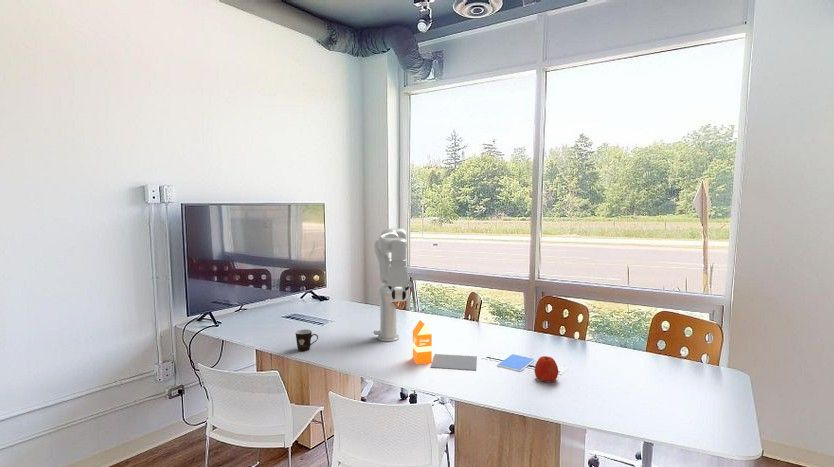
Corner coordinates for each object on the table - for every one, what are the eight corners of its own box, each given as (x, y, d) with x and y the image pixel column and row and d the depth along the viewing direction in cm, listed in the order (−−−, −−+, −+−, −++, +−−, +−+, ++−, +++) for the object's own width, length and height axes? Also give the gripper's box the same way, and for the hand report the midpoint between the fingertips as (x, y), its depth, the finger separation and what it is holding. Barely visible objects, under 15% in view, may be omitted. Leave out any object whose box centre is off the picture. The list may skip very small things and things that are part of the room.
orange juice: (416, 364, 203) (417, 324, 202) (412, 358, 211) (412, 320, 210) (432, 362, 205) (432, 323, 204) (426, 356, 213) (426, 318, 212)
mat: (430, 367, 198) (430, 366, 198) (434, 354, 216) (434, 354, 216) (476, 370, 195) (476, 369, 195) (476, 357, 213) (476, 356, 213)
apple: (553, 374, 190) (553, 352, 190) (561, 383, 180) (562, 360, 179) (531, 374, 190) (531, 352, 189) (538, 384, 180) (539, 361, 179)
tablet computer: (512, 355, 216) (512, 353, 216) (535, 361, 209) (535, 358, 209) (496, 367, 201) (496, 364, 200) (520, 373, 193) (520, 370, 193)
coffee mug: (292, 350, 222) (291, 332, 222) (303, 346, 230) (303, 328, 229) (308, 354, 217) (308, 335, 216) (319, 349, 224) (319, 331, 224)
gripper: (380, 264, 205) (380, 300, 206) (413, 264, 202) (413, 301, 203) (384, 262, 212) (384, 297, 213) (416, 262, 209) (416, 298, 211)
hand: (398, 298), depth 208 cm, fingers open, 4 cm apart
